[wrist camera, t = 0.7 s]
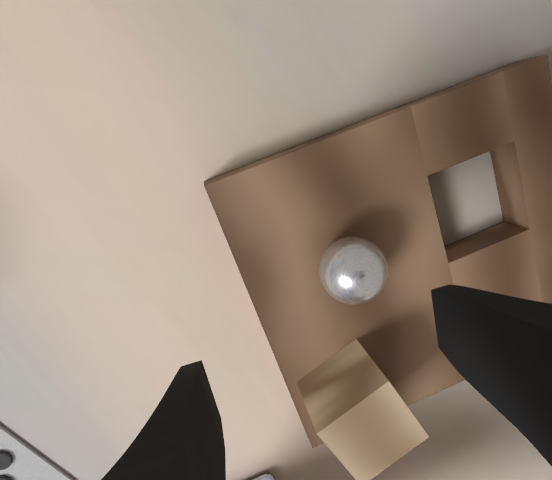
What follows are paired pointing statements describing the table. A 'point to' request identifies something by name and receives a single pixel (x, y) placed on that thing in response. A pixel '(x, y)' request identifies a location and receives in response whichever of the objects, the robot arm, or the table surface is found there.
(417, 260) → the board
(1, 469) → the handheld gaming device
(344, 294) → the ball
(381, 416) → the pale gold metal block
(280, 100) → the table surface
